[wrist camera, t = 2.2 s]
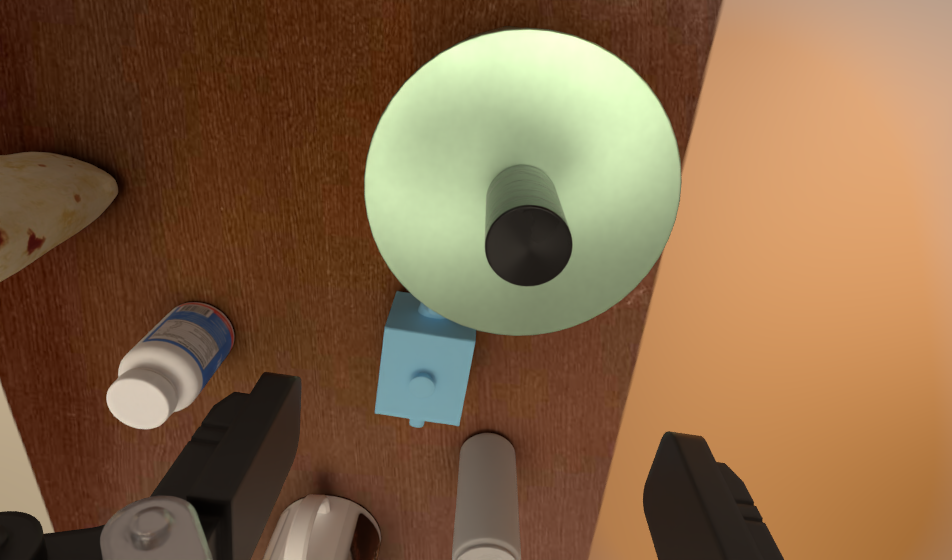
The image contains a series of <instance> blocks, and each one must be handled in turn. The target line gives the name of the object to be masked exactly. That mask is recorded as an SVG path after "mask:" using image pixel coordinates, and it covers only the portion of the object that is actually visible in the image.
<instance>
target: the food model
mask: <svg viewBox="0 0 952 560" xmlns="http://www.w3.org/2000/svg"><path fill="white" fill-rule="evenodd" d="M117 194H118V186H117V183H116V180H115V179H114V178H113V177H112V176H111V175H110V174H108V173H106V172H105V171H103V170H101V169H99V168H97V167H95V166H94V165H92V164H89V163H86V162H83V161H80V160H77V159H75V158H71V157H67V156H63V155H59V154H54V153H46V152H23V153H17V154H11V155H0V282H1V281H2V280H4V279H6V278H8V277H10V276H11V275H13V274H15V273H17V272H18V271H20V270H21V269H23V268H24V267H26V266H27V265H29V264H30V263H32V262H33V261H35V260H36V259H37V258H39V257H40V256H42V255H43V254H45V253H46V252H48V251H49V250H51V249H52V248H54V247H55V246H57V245H59V244H60V243H62V242H64V241H65V240H67V239H68V238H70V237H71V236H73V235H75V234H76V233H78V232H79V231H81V230H82V229H83V228H85V227H86V226H88V225H89V224H90V223H92V222H93V221H94V220H95V219H97V218H98V217H99V216H100V215H101V214H102V213H103V212H104V211H105V210H106V208H107V207H108V206H109V205H110V204H111V203H112V201H113V200H114V199H115V197H116V196H117Z"/></svg>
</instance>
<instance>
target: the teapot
mask: <svg viewBox="0 0 952 560" xmlns="http://www.w3.org/2000/svg"><path fill="white" fill-rule="evenodd" d="M475 341H476V330H475V329H472V328H469V327H465V326H462V325H460V324H458V323H455V322H453V321H451V320H449V319H447V318H444V317H443V316H441V315H439V314H438V313H436V312H434V311H433V310H431V309H429V308H428V307H427V306H425V305H424V304H423V303H422V302H420V301H419V300H418V299H416V298H415V297H414V296H413V295H412V294H411V293H406V292H400V291H397V292H396V295H395V298H394V301H393V304H392V307H391V310H390V313H389V316H388V319H387V322H386V325H385V330H384V338H383V347H382V355H381V364H380V372H379V381H378V389H377V398H376V407H375V414H383V415H390V416H396V417H402V418H409V419H410V422H409V424H410V425H411V426H413V427H417V428H419V427H423V426H424V421H429V422H436V423H443V424H450V425H456V426H459V424H460V419H461V414H462V409H463V403H464V398H465V393H466V388H467V383H468V378H469V372H470V367H471V362H472V357H473V352H474V347H475Z"/></svg>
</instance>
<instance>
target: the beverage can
mask: <svg viewBox="0 0 952 560" xmlns="http://www.w3.org/2000/svg"><path fill="white" fill-rule="evenodd" d="M452 560H521V550H520V532H519V513H518V495H517V476H516V457H515V450H514V448H513V446H512V445H511V443H510V442H509V441H508V440H506V439H505V438H504V437H502V436H500V435H497V434H493V433H481V434H477V435H475V436H473V437H471V438H469V439H468V440H467V441H466V442H465V443H464V444H463V446H462V447H461V451H460V462H459V476H458V490H457V503H456V515H455V526H454V538H453V552H452Z"/></svg>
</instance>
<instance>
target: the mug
mask: <svg viewBox="0 0 952 560" xmlns="http://www.w3.org/2000/svg"><path fill="white" fill-rule="evenodd" d="M380 544H381V534H380V530H379V527H378V524H377V523H376V521H375V519H374V518H373V517H372V516H371V514H370V513H369V512H367V511H366V510H365V509H364V508H362V507H361V506H359V505H358V504H356V503H354V502H352V501H350V500H347V499H344V498H340V497H336V496H328V495H322V494H308V495H307V496H306V497H305V498H303V499H300V500H298V501H296V502H294V503H293V504H291V505H290V506H288V507H287V508H286V509H285V510H284V511H283V513H282V514H281V516H280V518H279V520H278V523H277V525H276V527H275V530H274V532H273V535H272V537H271V539H270V542H269V544H268V547H267V549H266V552H265V554H264V556H263V559H262V560H377V559H378V554H379V549H380Z"/></svg>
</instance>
